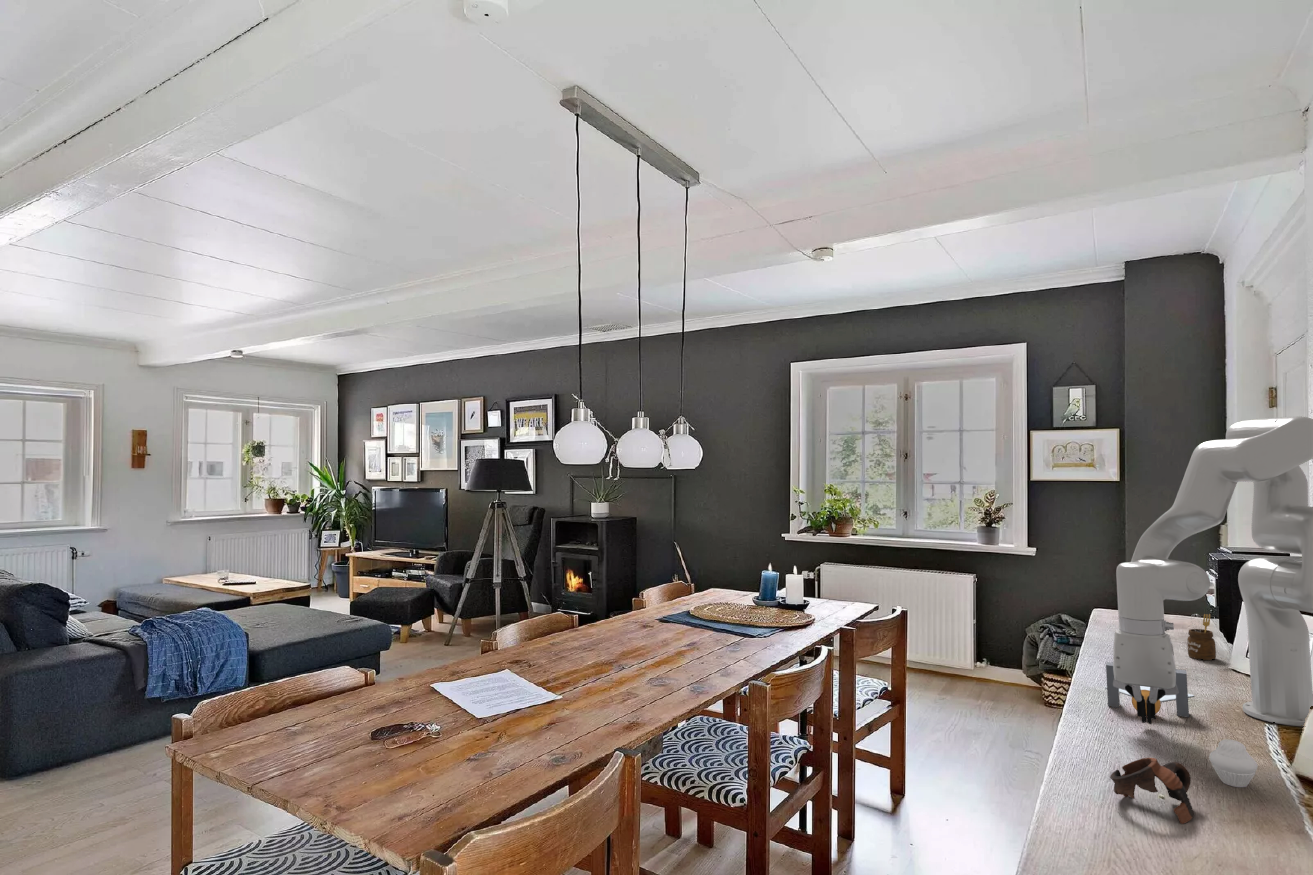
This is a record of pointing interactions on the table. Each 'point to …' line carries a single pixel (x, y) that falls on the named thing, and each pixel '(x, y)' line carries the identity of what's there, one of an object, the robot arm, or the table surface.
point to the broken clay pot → (1144, 778)
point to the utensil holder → (1201, 642)
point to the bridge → (1180, 697)
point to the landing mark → (1164, 698)
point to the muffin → (1233, 763)
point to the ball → (1145, 694)
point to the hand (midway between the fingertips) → (1146, 721)
